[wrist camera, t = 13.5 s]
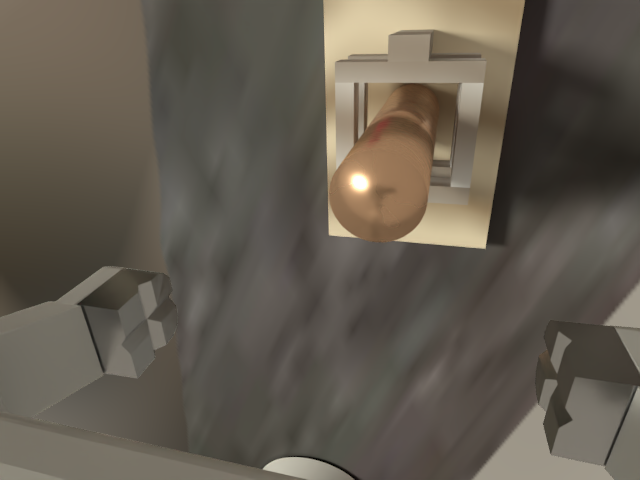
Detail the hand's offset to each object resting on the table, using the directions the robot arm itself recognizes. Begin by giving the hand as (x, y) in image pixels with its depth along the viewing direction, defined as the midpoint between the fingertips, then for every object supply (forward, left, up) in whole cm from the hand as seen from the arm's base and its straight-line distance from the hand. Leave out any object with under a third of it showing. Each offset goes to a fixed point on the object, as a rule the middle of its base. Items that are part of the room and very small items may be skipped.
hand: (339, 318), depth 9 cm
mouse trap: (0, 0, -25) cm, 25 cm away
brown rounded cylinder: (0, 0, -23) cm, 23 cm away
